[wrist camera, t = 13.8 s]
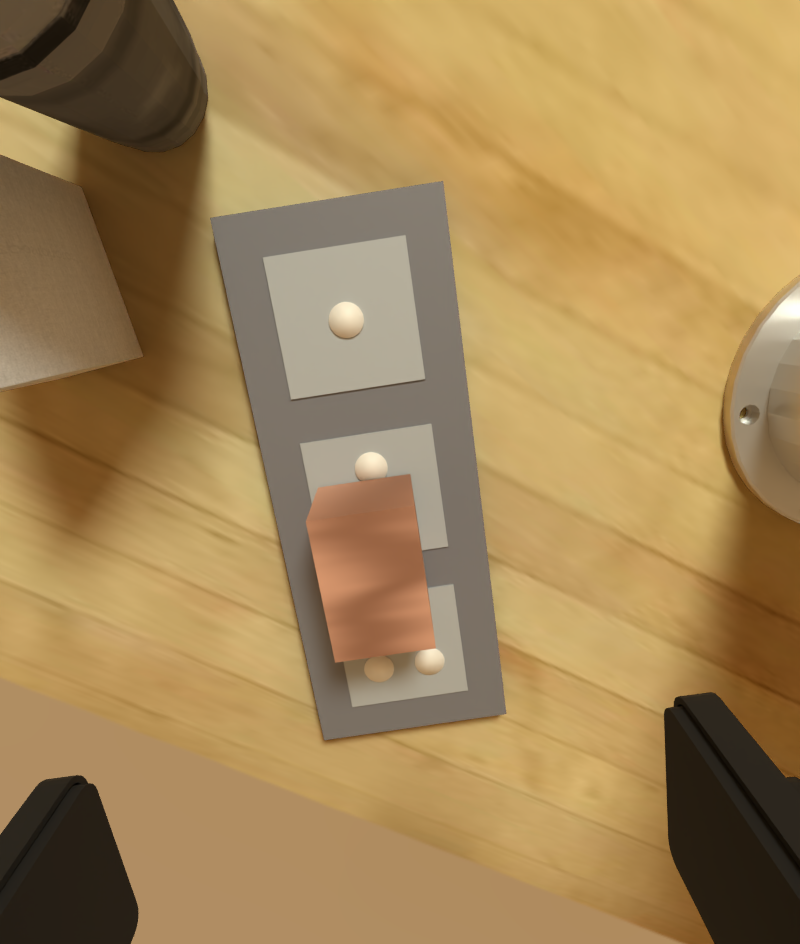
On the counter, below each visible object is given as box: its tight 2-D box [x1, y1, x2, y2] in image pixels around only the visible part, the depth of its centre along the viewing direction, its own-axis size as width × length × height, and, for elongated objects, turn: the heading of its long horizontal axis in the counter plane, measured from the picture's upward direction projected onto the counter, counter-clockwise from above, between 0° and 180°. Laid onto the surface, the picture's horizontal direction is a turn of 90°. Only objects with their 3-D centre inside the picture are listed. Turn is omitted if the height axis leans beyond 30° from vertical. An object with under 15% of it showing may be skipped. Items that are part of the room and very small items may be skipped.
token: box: [306, 474, 436, 663], centre depth 24 cm, size 4×4×6 cm
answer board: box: [210, 181, 506, 740], centre depth 26 cm, size 9×24×1 cm, turn 8°
